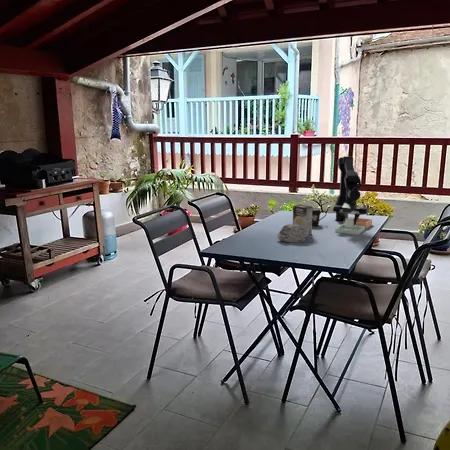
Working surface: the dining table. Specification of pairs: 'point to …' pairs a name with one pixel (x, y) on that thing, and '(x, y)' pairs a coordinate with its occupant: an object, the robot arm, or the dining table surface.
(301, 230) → the rock
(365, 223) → the terracotta bin
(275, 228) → the dining table surface
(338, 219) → the robot arm
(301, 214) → the coffee box
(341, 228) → the pale green tray
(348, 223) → the grey block
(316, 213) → the coffee mug
